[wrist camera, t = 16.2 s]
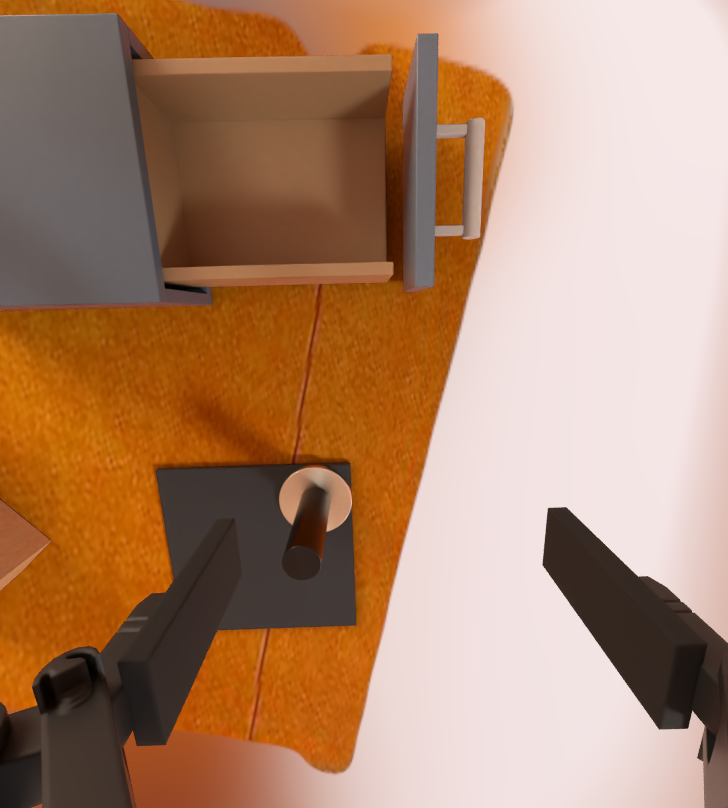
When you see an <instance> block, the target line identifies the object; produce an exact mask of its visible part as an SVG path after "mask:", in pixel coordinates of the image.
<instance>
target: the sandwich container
mask: <svg viewBox="0 0 728 808" xmlns="http://www.w3.org/2000/svg"><path fill="white" fill-rule="evenodd" d="M50 542H51V540H50V539H48V538H47V537H46V536H45V535H43V534H42V533H41V532H40V531H38V530H37V529H36V528H35V527H34V526H32V525H31V524H30V523H29V522H27V521H26V520H25V519H24V518H23V517H21V516H20V515H19V514H18V513H16V512H15V511H14V510H13V509H11V508H10V507H9V506H8V505H7V504H5V503H4V502H3V501H2V500H0V591H1V590H2V589H3V588H4V587H5V586H6V585H7V584H8V583H9V582H11V581H12V580H13V579H14V578H15V577H16V576H17V575H18V574H19V573H20V572H22V571H23V570H24V569H25V568H26V567H27V566H28V564H29V563H30V562H31V561H32V560H33V559H34V558H35V557H36V556H37V555H38V554H39V553H40V552H41V551H42V550H43V549H44V548H45V547H46V546H47V545H48V544H49V543H50Z"/></svg>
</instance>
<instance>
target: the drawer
mask: <svg viewBox="0 0 728 808" xmlns="http://www.w3.org/2000/svg"><path fill="white" fill-rule="evenodd" d="M132 64H133V71H134V78H135V85H136V92H137V99H138V106H139V113H140V120H141V127H142V134H143V140H144V147H145V154H146V161H147V168H148V175H149V182H150V189H151V196H152V203H153V210H154V217H155V224H156V231H157V237H158V244H159V251H160V258H161V265H162V272H163V279H164V284H168V285H175V286H182V287H223V286H261V285H300V284H339V283H378V282H386V281H388V280H389V279H390V277H391V276H392V275H393V262H387V239H386V146H385V116H386V109H387V101H388V94H389V87H390V80H391V73H392V55H391V54H382V55H333V56H332V55H331V56H280V57H230V58H179V59H132ZM437 85H438V34H437V33H434V34H417V38H416V43H415V47H414V52H413V57H412V61H411V66H410V71H409V75H408V80H407V85H406V89H405V94H404V99H403V292H419V291H421V290H424V289H427V288H430V287H433V286H434V257H435V236H461V235H462V239H477V238H479V237H480V226H481V203H482V181H483V158H484V135H485V120H484V119H483V118H473V119H470V120H468V121H467V122H466V124H437ZM464 137H465V164H464V194H463V224H462V225H439V226H435V199H436V142H437V138H464Z"/></svg>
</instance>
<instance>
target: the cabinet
mask: <svg viewBox="0 0 728 808" xmlns="http://www.w3.org/2000/svg"><path fill="white" fill-rule="evenodd" d="M132 59H154V58H153V57H152V56H151V54H150V53H149V52H148V51H147V49H146V48H145V47H144V46H143V44H142V43H141V42H140V41H139V39H138V38H137V37H136V36H135V34H134V33H133V32H132V31H131V29H130V28H129V27H128V26H127V25H126V23H125V22H124V21H123V20H122V18H121V17H120V16H119V15H118V14H117V13H104V14H50V15H0V311H14V310H52V309H90V308H129V307H167V306H205V305H213V301H212V293H211V287H182V286H175V285H168V284H164V279H163V272H162V265H161V258H160V251H159V244H158V237H157V231H156V224H155V217H154V210H153V203H152V196H151V189H150V182H149V175H148V168H147V161H146V154H145V147H144V140H143V134H142V127H141V120H140V113H139V106H138V99H137V92H136V85H135V78H134V71H133V64H132Z"/></svg>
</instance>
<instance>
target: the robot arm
mask: <svg viewBox="0 0 728 808" xmlns="http://www.w3.org/2000/svg"><path fill="white" fill-rule="evenodd" d="M543 566H544V568H545V569H546V570H547V572H548V573H549V575H550V576H551V578H552V579H553V580H554V582H555V583H556V585H557V586H558V587H559V589H560V590H561V592H562V593H563V595H564V596H565V597H566V599H567V600H568V601H569V603H570V604H571V606H572V607H573V609H574V610H575V611H576V613H577V614H578V616H579V617H580V618H581V619H582V621H583V623H584V624H585V626H586V627H587V628H588V629H589V631H590V633H591V634H592V635H593V637H594V638H595V640H596V641H597V642H598V644H599V645H600V646H601V648H602V650H603V651H604V652H605V654H606V655H607V657H608V658H609V659H610V661H611V662H612V664H613V665H614V666H615V668H616V669H617V671H618V672H619V673H620V675H621V676H622V678H623V679H624V680H625V682H626V683H627V685H628V686H629V688H630V689H631V690H632V692H633V693H634V695H635V696H636V697H637V699H638V700H639V702H640V703H641V705H642V706H643V707H644V709H645V710H646V711H647V713H648V714H649V716H650V717H651V718H652V720H653V721H654V723H655V724H656V726H657V727H658V728H659V729H687V728H688V727H689V722H690V718H691V713H692V710H693V712H694V713H695V714H696V715H697V717H698V718H699V719H700V720H701V721H702V723H703V724H704V725H705V729H704V733H703V737H702V741H701V745H700V749H699V753H698V757H697V758H698V759H700V760H702V761H703V762H704V763H703V765H704V800H705V801H704V802H705V808H728V643H727V642H726V641H725V640H724V639H723V638H721V636H719V635H718V634H717V633H716V632H715V631H714V630H713V629H712V628H711V627H709V626H708V625H707V624H706V623H705V622H704V621H703V620H702V619H701V618H700V617H699V616H697V615H696V614H695V613H692V610H691V609H690V608H689V607H687V606H686V605H685V604H684V603H683V602H681V601H680V599H679V598H678V597H677V596H675V595H674V594H673V593H672V592H671V591H670V590H669V589H668V588H667V587H665V586H664V585H662V584H660V583H658V582H657V581H655V580H653V579H652V578H650V577H648V576H646V577H645V576H644V577H638V576H637V575H636V574H635V573H634V572H633V571H631V569H629V567H627V566H626V565H625V564H624V563H623V562H622V561H621V560H620V559H619V558H618V557H617V556H616V555H615V554H614V553H613V552H612V551H611V550H610V549H609V548H608V547H607V546H606V545H605V544H604V543H603V542H602V541H601V540H600V539H599V538H597V537H596V536H595V535H594V534H593V533H592V532H591V531H590V530H589V529H588V528H587V527H586V526H585V525H584V524H583V523H582V522H581V521H580V520H579V519H578V518H577V517H576V516H574V514H573V513H571V511H570V510H568V509H567V508H566V507H563V508H548V513H547V523H546V535H545V544H544V555H543ZM241 576H242V569H241V561H240V553H239V546H238V538H237V530H236V523H235V518H226V519H216V521H215V522H214V523H213V525H212V526H211V528H210V529H209V531H208V532H207V534H206V535H205V536H204V538H203V539H202V541H201V542H200V544H199V545H198V547H197V548H196V549H195V551H194V552H193V554H192V555H191V557H190V558H189V560H188V561H187V562H186V564H185V565H184V567H183V568H182V570H181V571H180V572H179V574H178V575H177V577H176V578H175V580H174V581H173V583H172V584H171V585H170V587H169V588H168V590H167V591H166V593H152V594H150V595H149V596H148V597H147V598H145V599H144V600H143V601H142V602H140V603H139V604H138V605H137V606H136V607H135V608H134V610H133V611H132V612H131V614H130V615H129V616H128V618H127V620H126V621H125V622H124V623H123V624H122V625H121V627H120V628H119V629H118V633H115V635H114V636H113V637H112V639H111V640H110V641H109V643H108V644H107V645H106V647H105V648H104V649H103V650H102V652H101V653H99V652H98V650H97V649H96V648H93V647H89V646H87V647H79V648H76V649H73V650H70V651H67V652H65V653H63V654H62V655H60V656H58V657H57V658H55V659H53V660H52V661H51V662H50V663H48V664H47V665H46V666H45V667H44V668H43V669H42V670H41V671H40V672H39V674H38V675H37V676H36V678H35V680H34V683H33V686H32V689H33V692H34V695H35V698H36V701H37V704H38V706H35V707H31V708H28V709H25V710H22V711H18V712H15V713H12V714H9V715H8V713H7V710H6V707H5V706H4V705H3V704H2V703H1V702H0V808H31V807H34V806H37V805H39V804H42V808H136V803H135V799H134V793H133V789H132V784H131V779H130V774H129V770H128V766H127V760H126V756H125V752H124V745H125V743H126V741H127V739H128V738H129V736H130V734H131V732H132V730H133V732H134V736H135V740H136V745H137V746H150V745H166V743H167V741H168V738H169V736H170V734H171V731H172V730H173V727H174V725H175V723H176V721H177V718H178V716H179V714H180V712H181V710H182V707H183V705H184V703H185V701H186V698H187V696H188V694H189V692H190V690H191V687H192V685H193V683H194V681H195V678H196V676H197V674H198V672H199V670H200V667H201V665H202V663H203V661H204V659H205V656H206V654H207V652H208V650H209V647H210V645H211V643H212V641H213V639H214V636H215V634H216V632H217V630H218V627H219V625H220V623H221V621H222V619H223V616H224V614H225V612H226V610H227V607H228V605H229V603H230V601H231V599H232V596H233V594H234V592H235V590H236V587H237V585H238V583H239V581H240V579H241Z"/></svg>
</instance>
